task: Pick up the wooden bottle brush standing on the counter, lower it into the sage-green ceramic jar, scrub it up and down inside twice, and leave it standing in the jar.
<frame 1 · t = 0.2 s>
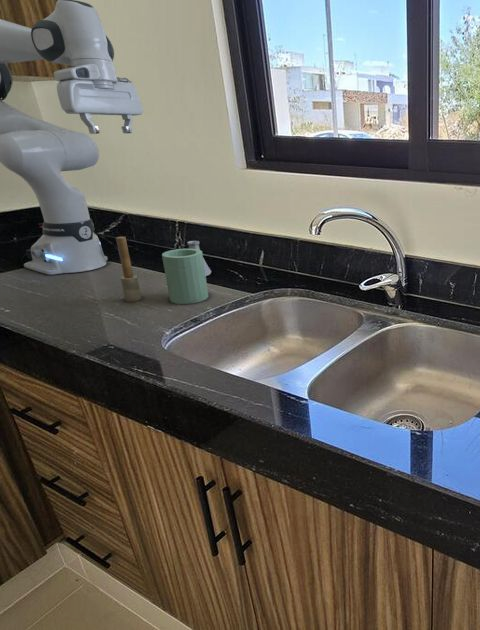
hand: (111, 133, 123), 39 cm above the counter, tool pointing down, fingers open, 8 cm apart
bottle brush: (133, 299, 120), on the counter
jar: (189, 298, 122), on the counter
flask: (198, 275, 141), on the counter
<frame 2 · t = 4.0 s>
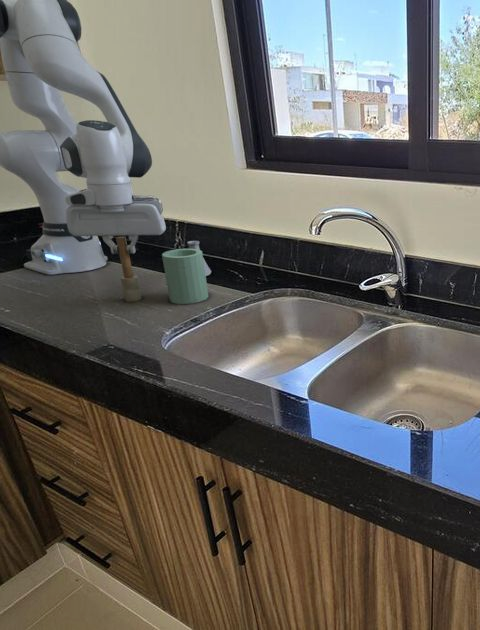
hand: (123, 253, 116), 12 cm above the counter, tool pointing down, fingers closed on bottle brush, 2 cm apart
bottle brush: (133, 299, 120), on the counter, touching gripper
everything else where it was.
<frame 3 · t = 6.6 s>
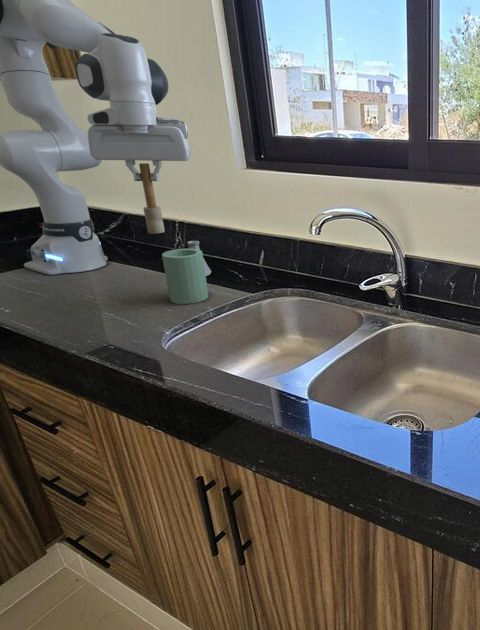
hand: (147, 180, 111), 29 cm above the counter, tool pointing down, fingers closed on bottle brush
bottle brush: (156, 232, 115), point 17 cm above the counter, touching gripper
everything else where it was.
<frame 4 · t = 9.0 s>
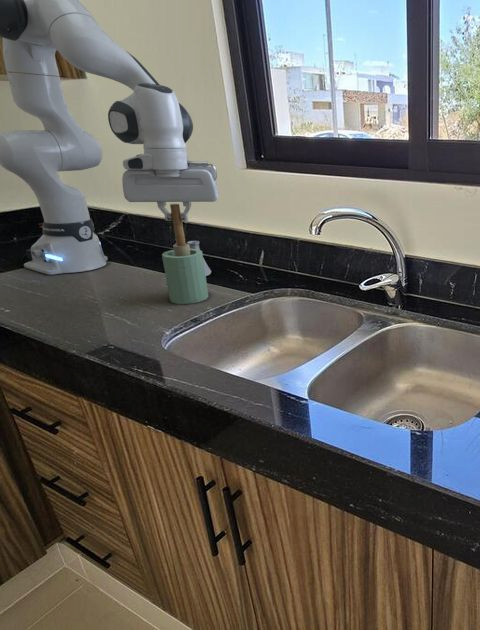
hand: (177, 220, 115), 20 cm above the counter, tool pointing down, fingers closed on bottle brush
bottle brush: (185, 268, 119), point 8 cm above the counter, touching gripper
everything else where it was.
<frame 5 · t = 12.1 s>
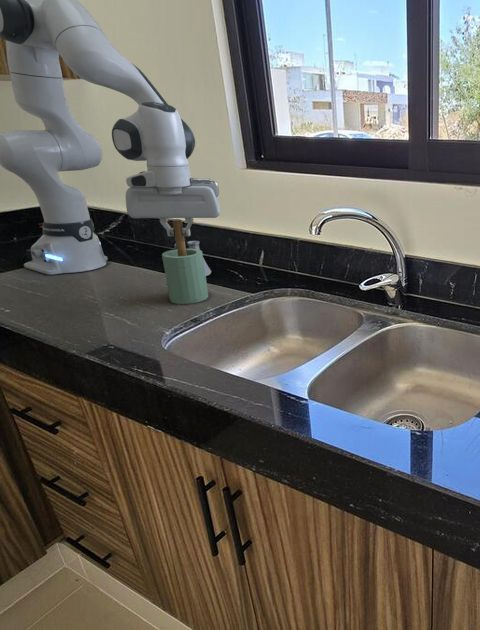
hand: (179, 235, 116), 16 cm above the counter, tool pointing down, fingers closed on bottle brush
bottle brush: (186, 282, 121), point 4 cm above the counter, touching gripper
everything else where it was.
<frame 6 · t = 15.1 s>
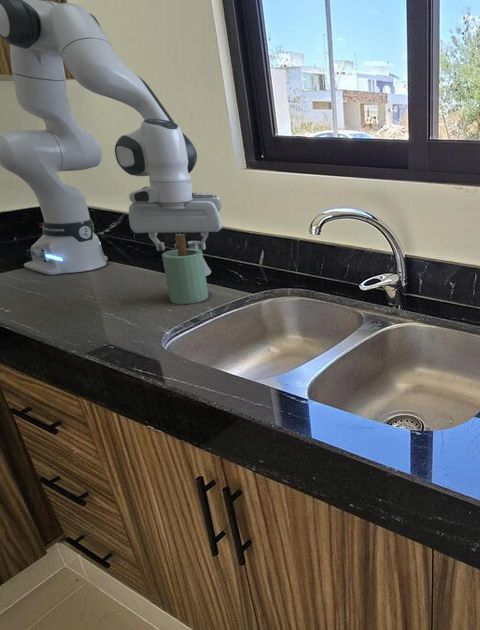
hand: (181, 249, 118), 13 cm above the counter, tool pointing down, fingers open, 8 cm apart
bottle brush: (189, 295, 122), point 1 cm above the counter, touching jar
everything else where it was.
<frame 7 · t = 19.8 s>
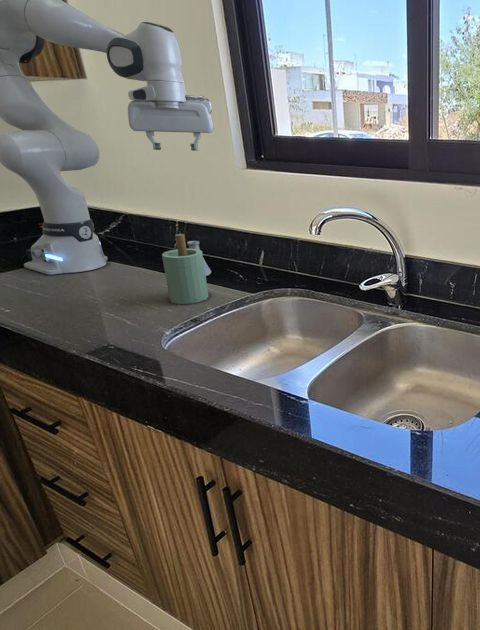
hand: (176, 150, 129), 35 cm above the counter, tool pointing down, fingers open, 8 cm apart
nothing on the counter moved.
at the end: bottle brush 0.1 cm off-centre in the jar, point 0.6 cm above the jar's base; the gripper is holding nothing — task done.
